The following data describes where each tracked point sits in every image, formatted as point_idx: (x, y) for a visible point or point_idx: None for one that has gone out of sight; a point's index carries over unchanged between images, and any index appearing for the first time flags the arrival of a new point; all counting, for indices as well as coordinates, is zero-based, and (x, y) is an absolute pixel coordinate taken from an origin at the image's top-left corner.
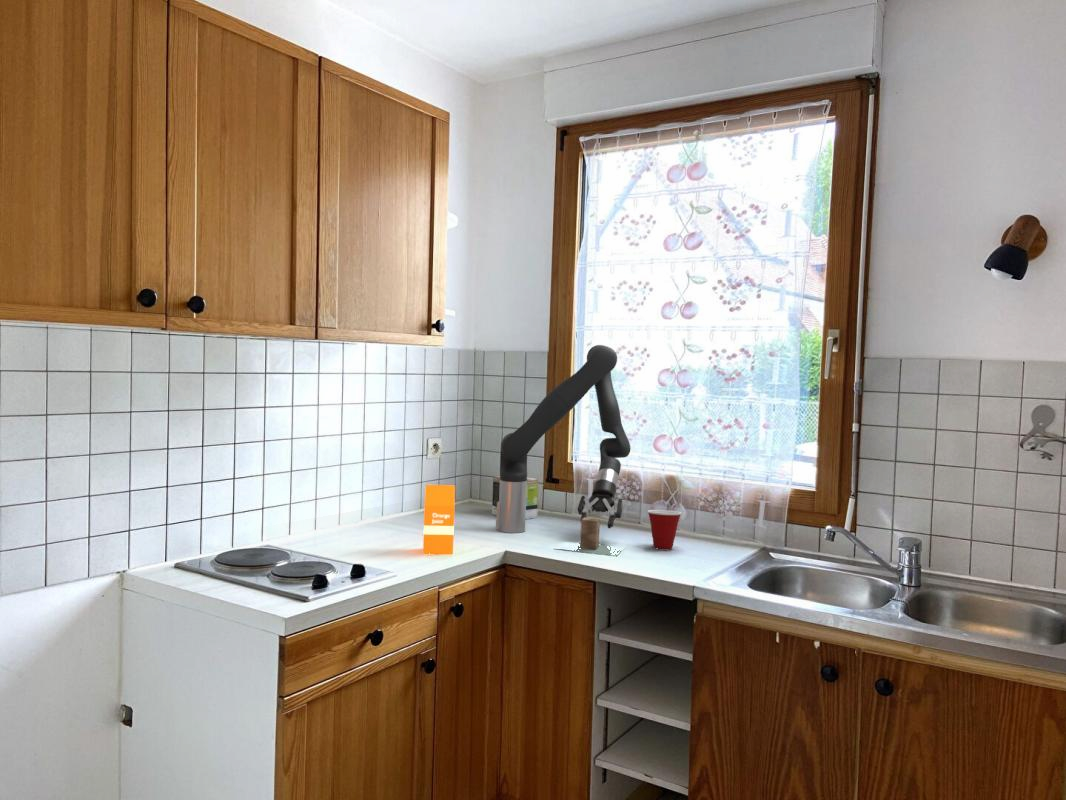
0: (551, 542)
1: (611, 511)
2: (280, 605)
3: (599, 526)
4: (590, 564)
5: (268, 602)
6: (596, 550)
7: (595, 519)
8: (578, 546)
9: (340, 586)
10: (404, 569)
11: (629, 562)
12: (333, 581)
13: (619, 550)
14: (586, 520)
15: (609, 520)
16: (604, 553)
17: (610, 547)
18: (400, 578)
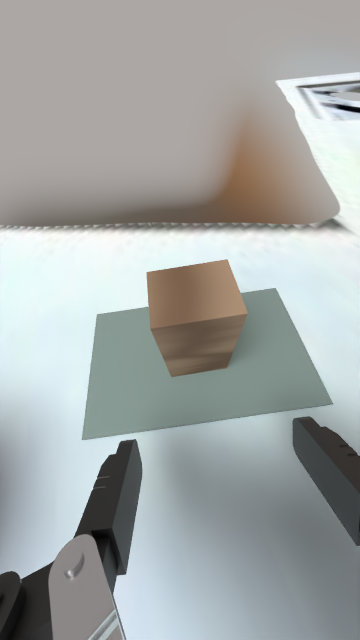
0: (350, 361)
1: (77, 608)
2: (301, 81)
3: (158, 344)
4: (139, 236)
5: (314, 80)
6: None
7: (168, 302)
8: (234, 350)
9: (318, 98)
10: (337, 126)
11: (63, 284)
12: (339, 98)
13: (97, 376)
14: (200, 265)
15: (118, 469)
16: (133, 316)
17: (134, 402)
18: (305, 117)
